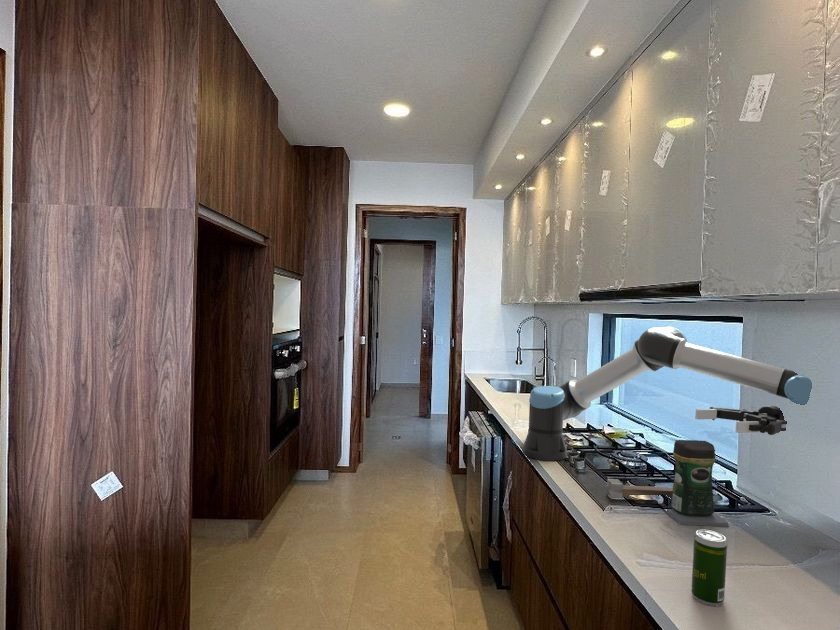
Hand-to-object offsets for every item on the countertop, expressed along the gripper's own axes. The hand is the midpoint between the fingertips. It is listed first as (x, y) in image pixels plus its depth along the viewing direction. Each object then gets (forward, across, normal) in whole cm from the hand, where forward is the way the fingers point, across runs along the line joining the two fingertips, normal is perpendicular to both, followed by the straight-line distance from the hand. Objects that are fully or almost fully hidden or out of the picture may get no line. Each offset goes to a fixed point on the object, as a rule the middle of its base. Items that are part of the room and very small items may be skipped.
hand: (715, 420), depth 143 cm
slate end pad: (+8, -3, -24) cm, 25 cm away
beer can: (+35, -37, -24) cm, 56 cm away
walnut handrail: (+11, +8, -24) cm, 28 cm away
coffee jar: (+8, -3, -23) cm, 25 cm away
